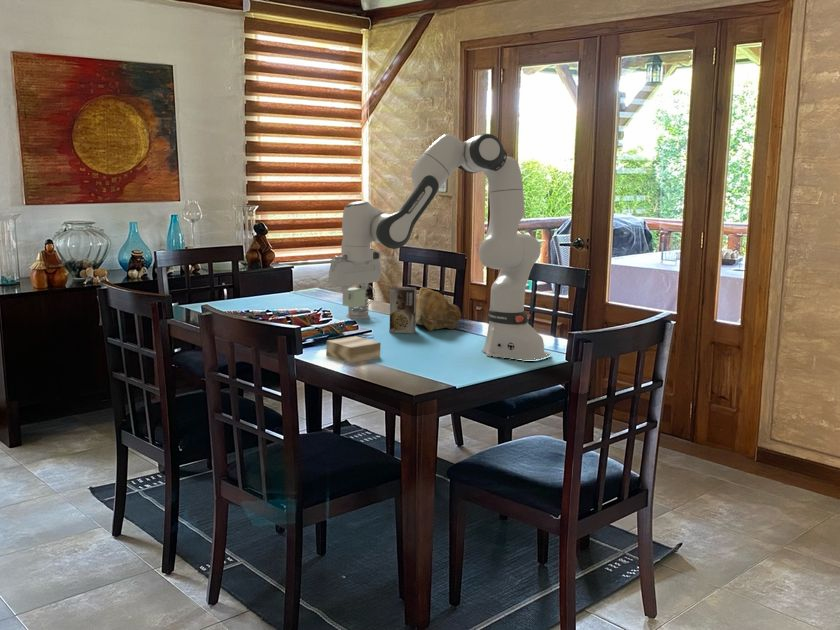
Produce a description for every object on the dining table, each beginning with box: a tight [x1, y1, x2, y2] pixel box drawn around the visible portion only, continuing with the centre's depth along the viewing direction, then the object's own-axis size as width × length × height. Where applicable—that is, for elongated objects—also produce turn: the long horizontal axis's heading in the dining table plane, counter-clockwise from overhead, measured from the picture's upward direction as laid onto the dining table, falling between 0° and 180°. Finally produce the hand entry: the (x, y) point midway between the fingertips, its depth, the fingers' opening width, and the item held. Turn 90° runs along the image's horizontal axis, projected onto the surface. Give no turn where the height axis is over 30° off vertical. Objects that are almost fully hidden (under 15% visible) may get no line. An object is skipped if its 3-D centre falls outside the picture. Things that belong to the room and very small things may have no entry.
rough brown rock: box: [415, 286, 462, 331], centre depth 308 cm, size 23×17×15 cm
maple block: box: [325, 335, 381, 363], centre depth 259 cm, size 12×12×5 cm
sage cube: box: [342, 287, 367, 308], centre depth 256 cm, size 5×5×5 cm
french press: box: [345, 283, 376, 320], centre depth 323 cm, size 10×12×25 cm
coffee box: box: [389, 286, 417, 334], centre depth 298 cm, size 9×6×16 cm
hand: (354, 298), depth 256 cm, fingers closed on sage cube, 5 cm apart
